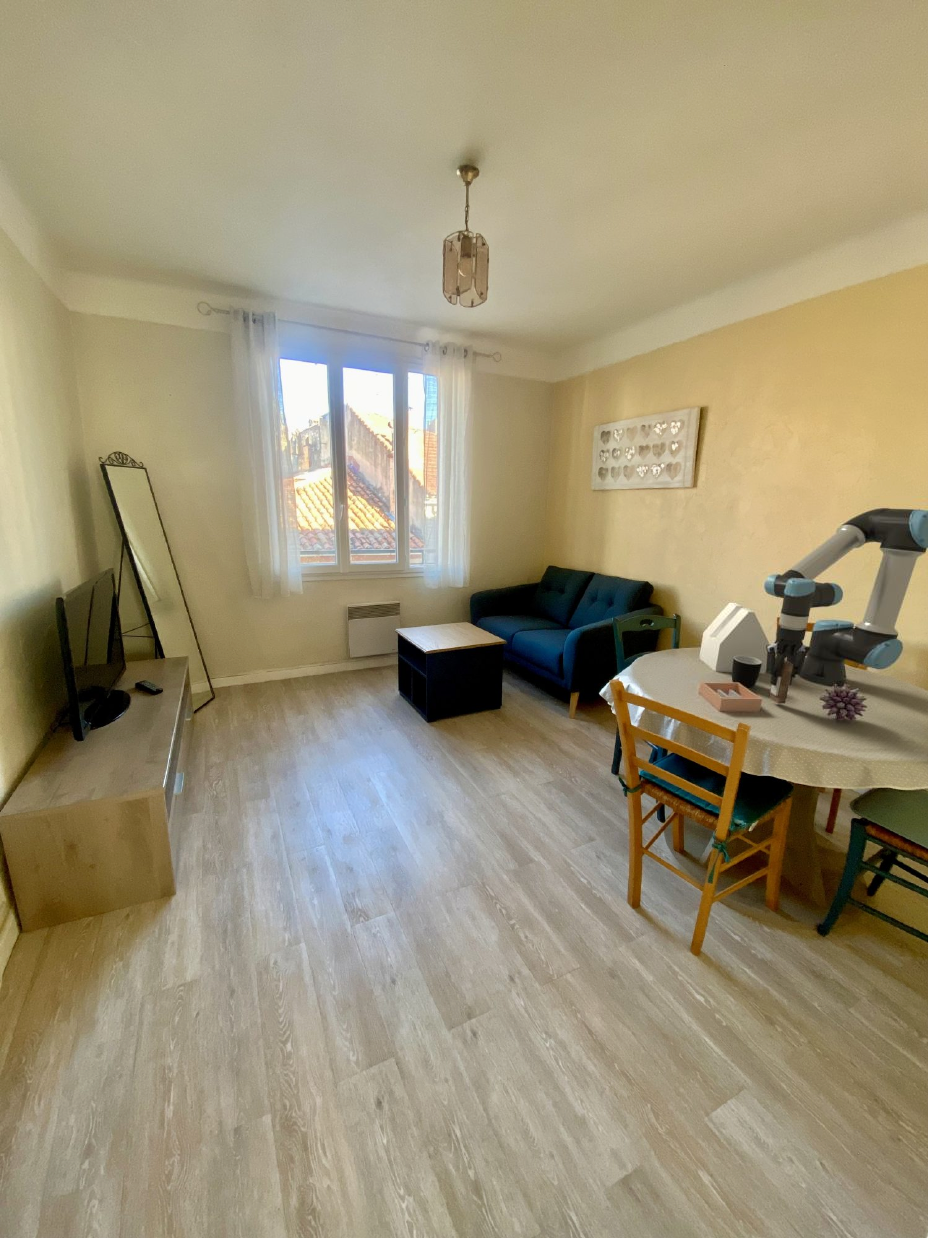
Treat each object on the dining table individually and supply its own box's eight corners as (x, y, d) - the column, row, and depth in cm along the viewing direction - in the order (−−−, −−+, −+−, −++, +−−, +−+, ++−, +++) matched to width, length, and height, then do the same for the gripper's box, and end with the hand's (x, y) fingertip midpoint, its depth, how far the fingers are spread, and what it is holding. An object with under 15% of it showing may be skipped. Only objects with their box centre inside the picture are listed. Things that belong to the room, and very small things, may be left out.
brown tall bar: (776, 697, 162) (784, 659, 158) (785, 703, 158) (793, 664, 154) (769, 697, 162) (777, 659, 158) (778, 703, 158) (785, 664, 154)
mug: (761, 691, 171) (766, 665, 169) (734, 689, 172) (739, 663, 170) (746, 678, 183) (751, 653, 180) (722, 676, 184) (726, 652, 181)
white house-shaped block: (715, 671, 189) (725, 611, 182) (699, 658, 204) (708, 601, 197) (765, 673, 188) (777, 612, 181) (745, 660, 203) (756, 603, 196)
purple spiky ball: (848, 731, 144) (858, 695, 140) (807, 714, 154) (815, 680, 151) (871, 725, 148) (880, 689, 145) (829, 708, 159) (837, 675, 155)
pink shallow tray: (736, 694, 168) (738, 682, 167) (759, 711, 156) (762, 698, 154) (698, 693, 168) (700, 682, 167) (719, 711, 155) (721, 698, 154)
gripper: (807, 623, 157) (793, 688, 163) (761, 623, 156) (749, 689, 163) (824, 630, 149) (809, 698, 156) (776, 630, 149) (762, 698, 156)
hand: (778, 693), depth 159 cm, fingers closed on brown tall bar, 2 cm apart
